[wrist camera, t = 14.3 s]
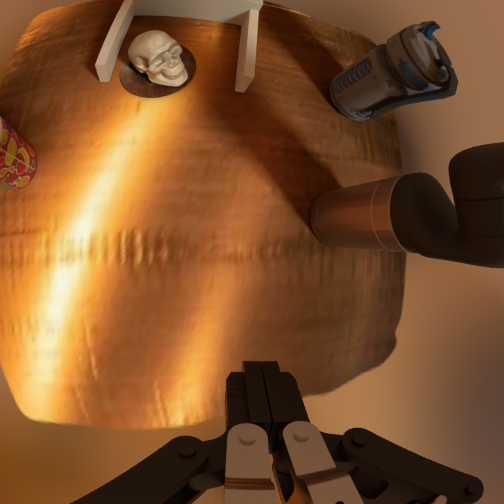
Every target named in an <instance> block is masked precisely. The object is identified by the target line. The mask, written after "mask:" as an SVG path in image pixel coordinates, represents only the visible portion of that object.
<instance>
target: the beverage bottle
mask: <svg viewBox="0 0 504 504" xmlns="http://www.w3.org/2000/svg"><path fill="white" fill-rule="evenodd" d="M439 28H440V27H439V25H438V24H437V23H436V22H434V21H429V22H422V23H421V24H414V25H410V26H409V27H407V28H404V29H403V30H401V31H400V32H398V33H397V34H395V35H393V36H392V37H390V38H389V39H388V40H387V44H380V45H378V46H377V47H375V48H374V49H372V50H371V51H369V52H368V53H367V54H365V55H364V56H362V57H361V58H359V59H358V60H357V61H355V62H354V63H353V64H351V65H350V66H348V67H347V68H346V69H344V70H343V71H342V72H340V73H339V74H338V75H336V76H335V77H334V78H333V79H332V81H331V83H330V88H329V92H330V97H331V100H332V102H333V104H334V106H335V107H336V108H338V109H339V110H338V111H339V112H340V113H341V114H343V115H344V116H346V117H347V118H349V119H352V120H357V121H364V120H366V119H369V118H370V119H374V120H377V121H378V119H379V117H380V116H381V114H383V113H386V112H388V111H390V110H393V109H395V108H398V107H400V106H402V105H407V104H412V103H418V102H424V101H430V100H437V99H444V98H447V97H450V96H453V95H455V93H456V89H457V85H458V80H457V77H456V74H455V71H454V69H453V68H452V67H451V65H452V63H451V61H450V59H449V57H448V55H447V53H446V51H445V50H444V48H443V47H442V45H441V44H440V43H439V41H438V40H437V39H436V38H435V37H434V36H433V35H432V33H433V32H434V31H435V30H436V29H439ZM441 87H442V88H441ZM420 92H422V93H420Z"/></svg>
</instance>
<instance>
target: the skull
mask: <svg viewBox="0 0 504 504" xmlns="http://www.w3.org/2000/svg"><path fill="white" fill-rule="evenodd" d="M128 56H129V59H130V60H131V61H130V62H129V63H130V66H129V64H128V60H127V63H126V64H124V65H122V66H121V69H120V80H121V83H122V85H123V86H124V88H125V89H126V90H128V91H129V92H130V93H132V94H134V95H137V96H140V97H146V98H157V97H163V96H167V95H170V94H172V93H175V92H177V91H179V90H180V89H182V88H183V87H185V86H186V85H187V84H188V83H189V82H190V80H191V79H192V77H193V76H194V73H195V70H196V62H195V59H194V57H193V55H192V53H191V52H190V51H189V50H188V49H186V48H185V47H184V46H182V45H179V44H177V41H176V40H174V39H172V38H171V37H170V36H169V35H168V34H167V33H166V32H163V31H159V30H152V31H147V32H145V33H142V34H140V35H138V36H137V37H136V38H135V39H134V40H133V42H132V43H131V45H130V47H129V49H128ZM147 96H148V97H147Z"/></svg>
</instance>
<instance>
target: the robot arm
mask: <svg viewBox="0 0 504 504" xmlns="http://www.w3.org/2000/svg"><path fill="white" fill-rule="evenodd" d="M449 178H450V184H451V189H452V193H453V196H454V197H453V198H454V203H455V206H454V205H453V204H452V202H451V200H450V199H449V197H448V195H447V194H446V192H445V190H444V189H443V187H442V186H441V185H440V183H439V182H438V181H437V180H436V179H435V178H434V177H432V176H431V175H429V174H426V173H412V174H407V175H403V176H398V177H393V178H388V179H383V180H378V181H374V182H369V183H364V184H359V185H355V186H350V187H346V188H341V189H336V190H332V191H328V192H325V193H322V194H321V195H319V196H318V197H317V198H316V200H315V201H314V203H313V205H312V208H311V212H310V223H311V227H312V230H313V232H314V234H315V236H316V237H317V239H318V240H319V241H320V242H321V243H323V244H325V245H327V246H331V247H343V248H355V249H368V250H381V251H394V252H408V253H419V254H421V255H422V256H425V257H428V258H435V259H442V260H448V261H454V262H459V263H465V264H470V265H475V266H482V267H489V268H504V142H501V143H492V144H485V145H480V146H475V147H472V148H469V149H466V150H463V151H461V152H459V153H457V154H456V155H455V156H454V157H453V158H452V159H451V160H450V162H449ZM225 418H226V431H225V433H224V434H223V435H221V436H220V437H218V438H216V439H213V440H208V441H203V442H202V441H201V440H199V439H198V438H195V437H192V436H179V437H176V438H174V439H172V440H171V441H170V442H168V443H167V444H166V445H164V446H163V447H161V448H160V449H158V450H157V451H156V452H154V453H153V454H151V455H150V456H148V457H147V458H145V459H144V460H142V461H141V462H140V463H138V464H137V465H135V466H133V467H132V468H130V469H129V470H127V471H126V472H124V473H123V474H121V475H120V476H118V477H116V478H115V479H113V480H111V481H110V482H108V483H106V484H105V485H103V486H101V487H100V488H98V489H97V490H95V491H93V492H91V493H89V494H87V495H85V496H84V497H82V498H80V499H78V500H76V501H74V502H72V503H70V504H192V503H193V502H194V501H195V500H196V499H197V498H199V497H200V496H201V495H202V494H203V493H204V492H205V491H206V490H207V489H210V488H215V487H219V486H222V485H224V503H223V504H276V495H275V487H274V484H273V483H272V482H271V476H270V463H269V454H272V456H273V463H272V472H273V476H274V479H275V483H276V486H277V490H278V493H279V496H280V500H281V504H474V503H475V502H477V501H478V500H479V499H480V498H481V497H482V495H483V491H484V487H483V484H482V482H481V480H480V479H478V478H477V477H474V476H471V475H468V474H465V473H463V472H460V471H457V470H455V469H452V468H449V467H447V466H444V465H441V464H439V463H436V462H434V461H432V460H429V459H427V458H425V457H422V456H420V455H418V454H416V453H413V452H411V451H409V450H407V449H405V448H403V447H400V446H398V445H396V444H394V443H392V442H390V441H388V440H386V439H384V438H382V437H380V436H378V435H376V434H374V433H372V432H370V431H368V430H366V429H363V428H352V429H349V430H347V431H346V432H345V433H344V435H336V434H328V433H324V432H321V431H319V430H318V428H317V427H316V426H315V425H313V424H311V423H310V421H309V418H308V415H307V412H306V409H305V406H304V403H303V400H302V397H301V394H300V391H299V389H298V385H297V382H296V379H295V378H294V377H293V376H292V375H291V374H290V373H289V372H280V369H279V365H278V362H277V361H243V362H242V371H241V372H231V373H230V374H229V376H228V378H227V379H226V394H225Z"/></svg>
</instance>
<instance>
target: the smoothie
mask: <svg viewBox="0 0 504 504" xmlns="http://www.w3.org/2000/svg"><path fill="white" fill-rule="evenodd" d="M36 168H37V158H36V153H35V151H34V149H33V148H32V147H31V146H30V145H29V144H28V143H27V142H26V141H25V140H24V139H22V138H21V137H20V136H19V135H18V134H17V133H16V132H15V131H14V130H13V129H12V128H11V127H10V126H9V125H8V124H7V123H6V122H5V121H4V120H3V118H2V117H1V116H0V188H4V189H10V190H19V189H21V188H23V187H24V186H26V185H27V184H28V183H29V182H30V181H31V180H32V178H33V177H34V174H35V172H36Z"/></svg>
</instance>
